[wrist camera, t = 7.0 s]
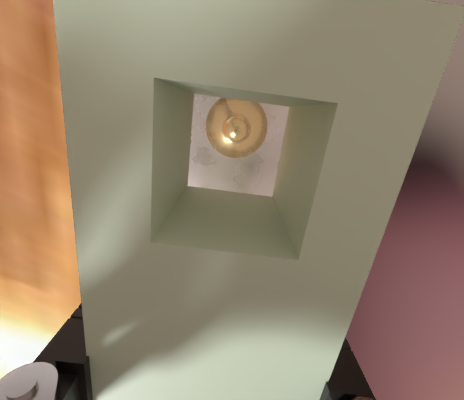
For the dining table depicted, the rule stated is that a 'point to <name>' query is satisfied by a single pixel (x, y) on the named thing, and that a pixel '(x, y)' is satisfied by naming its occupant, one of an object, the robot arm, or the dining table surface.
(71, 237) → the dining table surface
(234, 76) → the bar
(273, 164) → the board with brass pegs
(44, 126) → the dining table surface
